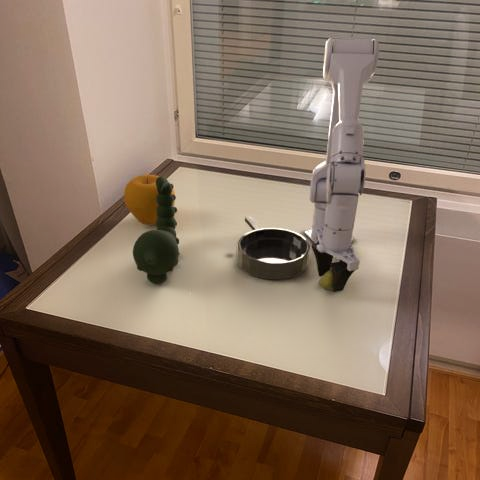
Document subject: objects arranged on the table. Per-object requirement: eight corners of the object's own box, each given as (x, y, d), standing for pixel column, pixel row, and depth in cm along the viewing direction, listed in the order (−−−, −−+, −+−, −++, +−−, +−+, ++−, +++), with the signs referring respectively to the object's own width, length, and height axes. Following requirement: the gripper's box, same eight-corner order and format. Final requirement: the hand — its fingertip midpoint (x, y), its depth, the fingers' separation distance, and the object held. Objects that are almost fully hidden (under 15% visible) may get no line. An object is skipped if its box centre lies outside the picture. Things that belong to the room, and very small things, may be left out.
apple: (133, 235, 123) (128, 192, 116) (121, 214, 133) (115, 172, 126) (183, 226, 128) (180, 183, 121) (168, 206, 137) (165, 165, 130)
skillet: (289, 240, 122) (290, 223, 120) (320, 273, 111) (322, 255, 108) (227, 251, 118) (227, 234, 115) (253, 287, 106) (254, 269, 103)
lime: (316, 292, 105) (319, 271, 102) (322, 280, 108) (324, 260, 105) (337, 296, 103) (340, 276, 100) (342, 284, 107) (345, 264, 104)
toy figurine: (150, 246, 122) (129, 297, 101) (143, 169, 112) (117, 207, 91) (189, 247, 122) (175, 298, 101) (185, 170, 112) (169, 208, 91)
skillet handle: (251, 219, 124) (251, 216, 123) (263, 233, 118) (264, 230, 117) (244, 220, 123) (244, 217, 123) (256, 235, 117) (257, 231, 117)
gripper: (303, 211, 101) (298, 269, 109) (339, 244, 90) (330, 305, 98) (334, 206, 103) (326, 263, 111) (373, 238, 92) (361, 298, 101)
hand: (330, 282), depth 105 cm, fingers open, 6 cm apart
